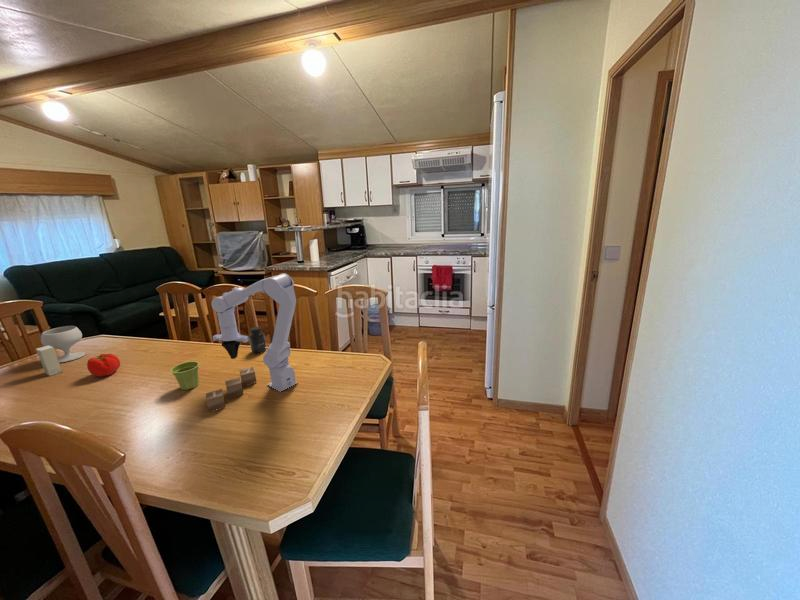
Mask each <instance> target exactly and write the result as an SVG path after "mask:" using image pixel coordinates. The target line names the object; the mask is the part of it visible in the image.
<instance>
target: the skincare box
mask: <svg viewBox="0 0 800 600" xmlns="http://www.w3.org/2000/svg"><path fill="white" fill-rule="evenodd" d="M35 351H36V354H37V355H38V358H39V360H40V362H41V365H42V368H43V370H44V373H45V374H46V375H47V376H53V375H54V376H55V375H57V374H60V373H63V369H62V366H61V363H59V361H58V358H57V357H58V355H57V353H56V349H54V348H53V347H52V346H50V345H48V346H41V347H37V348H35Z"/></svg>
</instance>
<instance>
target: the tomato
mask: <svg viewBox="0 0 800 600" xmlns="http://www.w3.org/2000/svg"><path fill="white" fill-rule="evenodd" d="M86 364H87V365H86V367H87V370H88V371H89V373H90V374H91V375H93V376H96V377H105V376H110V375H112V374H113V373H114V372H116V371H117V370H118V369H119V368H120V367H121V366H120V365H121V360H120V358H119V357H118V356H117V355H115V354H113V353H101V354H99V355H95V357H91V358H89V359H88V361H87V363H86Z"/></svg>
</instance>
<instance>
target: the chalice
mask: <svg viewBox="0 0 800 600" xmlns="http://www.w3.org/2000/svg"><path fill="white" fill-rule="evenodd" d="M82 337H83V333H82V331H81V330H80V329H79V328H78V327H77V326H75V325H65V326H59V327H55V328H51V329H47V330H46V331H43V332H42V333H41V335H40V343H41V344H42V347H44V346H48V345H50V346H52V347H53V348H54V350H60V351H63V353H64V354H63V355H61V356H57V358H58V361H59V363H60V364H61V363H66V362H71V361H75V360H77V359H80V358H82V357H83V356H85V355H86V352H84V351H77V352H75V351H74V352H71V351H70V350H71V348H72V347H73V346H74V345H76V344H77V343H79V342H80V341H81V339H82Z"/></svg>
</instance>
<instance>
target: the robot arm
mask: <svg viewBox="0 0 800 600" xmlns="http://www.w3.org/2000/svg"><path fill="white" fill-rule="evenodd" d="M294 286H295V282H294V280H293V279H292V277H291V276H290V275H289V274H287V273H280V274H278V275H273V276H270V277H266V278H263V279H260V280H258V281H256V282H254V283H252V284H250V285H248V286H247V287H245V288H243V287H237V286H236V287H233V288H231V291H228V292H223V293H222V295H221V296H220V295H219V296H217V297H214V298H213V299H212V300H211V308H212V309H213V311H215V312H216V316H217V320H218V325H219V329H220V334H215V335H213V336H212V340H213V342H215V341H223V342H222V343H221V346H222V347H223V349H225V350H226V352H227V353H228V356H229V358H230V359H231V360H233V359H234V360H235V359H236V358H238V353H239V348H240V345H241V343H247V342H250V339H249V336H248V335H243V334H241V333H240V332H239V331H238V326H237V321H236V315H235V308H236V307H237V306H238V305H241V304H243V303H245V302H248V300H249V297H250V296H252V295H255V294H256V293H259V292H262V294H267V296H269V297H270V298H271V299H272V300H273V301H275V302H276V303H277V304H279V306H278V311H277V316H276V321H275V326H274V331H273V335H272V340H271V343H270V344H269V345H268V347H267V348H266V351H265V354H264V355H263V357H262V359H263V360H262V361H263V363H264V364H265V365H266V367H267V368H268V370H269V376H270V382H269V383H267V386H268V385H269V384H270V385H269V386H270V388H271V387H272V388H271V389H273V388H274V390H275V389H276V390H275V391H277V390H278V391H277V392H279V391H280V392H279V393H282V392H281V391H283V390H285V389H287V388H288V389H290V388H292V387H294V386H295V385H294V384H296V382H297V381H296V374H295V370H294V368H293V367H292V366H291V365H290V364H289V363H290V362H289V360H290V359H289V356H290V355H291V348H290V347H291V343H290V342H289V336H290V333H291V327H292V324H293V323H292V322H293V318H294V315H295V314H294V313H295V309H296V304H297V297H296V292H295V290H294V289H295V288H294ZM293 385H294V386H293ZM296 385H297V384H296ZM269 386H268V387H269ZM291 386H292V387H291ZM289 387H290V388H289ZM288 389H287V390H288ZM285 391H286V390H285ZM283 392H284V391H283Z"/></svg>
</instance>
